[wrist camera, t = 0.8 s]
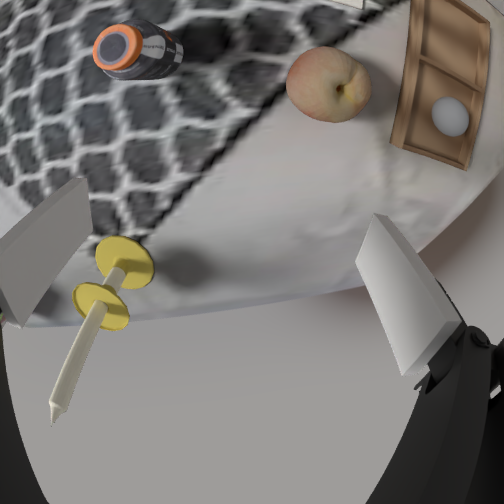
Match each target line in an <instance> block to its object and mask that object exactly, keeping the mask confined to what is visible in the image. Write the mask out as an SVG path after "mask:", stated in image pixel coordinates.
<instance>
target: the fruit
mask: <svg viewBox="0 0 504 504" xmlns="http://www.w3.org/2000/svg"><path fill="white" fill-rule="evenodd" d="M286 89H287V93H288V96H289V98H290V99H291V101H292V103H293V104H294V105H295V106H296V107H297V108H298V109H299V110H300V111H301V112H303V113H304V114H305V115H307V116H309V117H311V118H313V119H316V120H320V121H325V122H332V123H339V122H345V121H348V120H350V119H351V118H353V117H355V116H356V115H357V114H358V113H359V112H360V111H361V110H362V109H363V107H364V106H365V105H366V104H367V102H368V101H369V99H370V96H371V80H370V76H369V74H368V72H367V70H366V69H365V68H364V67H363V66H362V65H361V63H359V62H358V61H356V60H354V59H353V58H352V57H351V56H350V55H349V54H347V53H345V52H343V51H341V50H338V49H335V48H332V47H325V46H324V47H317V48H314V49H311V50H308V51H306V52H305V53H303V54H302V55H300V56H299V58H298V59H297V60H296V61H295V62H294V64H293V65H292V67H291V69H290V71H289V73H288V76H287V80H286Z"/></svg>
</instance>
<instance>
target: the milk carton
mask: <svg viewBox="0 0 504 504" xmlns="http://www.w3.org/2000/svg"><path fill="white" fill-rule="evenodd" d="M487 1H488V2H489V3H491V4H492V5H493V6H494V7H495V8H496V9H497V10H499V11H500V12H501V13H502V14H503V15H504V0H487Z"/></svg>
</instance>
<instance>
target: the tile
mask: <svg viewBox="0 0 504 504" xmlns="http://www.w3.org/2000/svg"><path fill="white" fill-rule="evenodd" d="M329 1H333V2H337V3H341V4H344V5H348V6H351V7H354V8H357V9H362V4H363V0H329Z"/></svg>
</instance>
